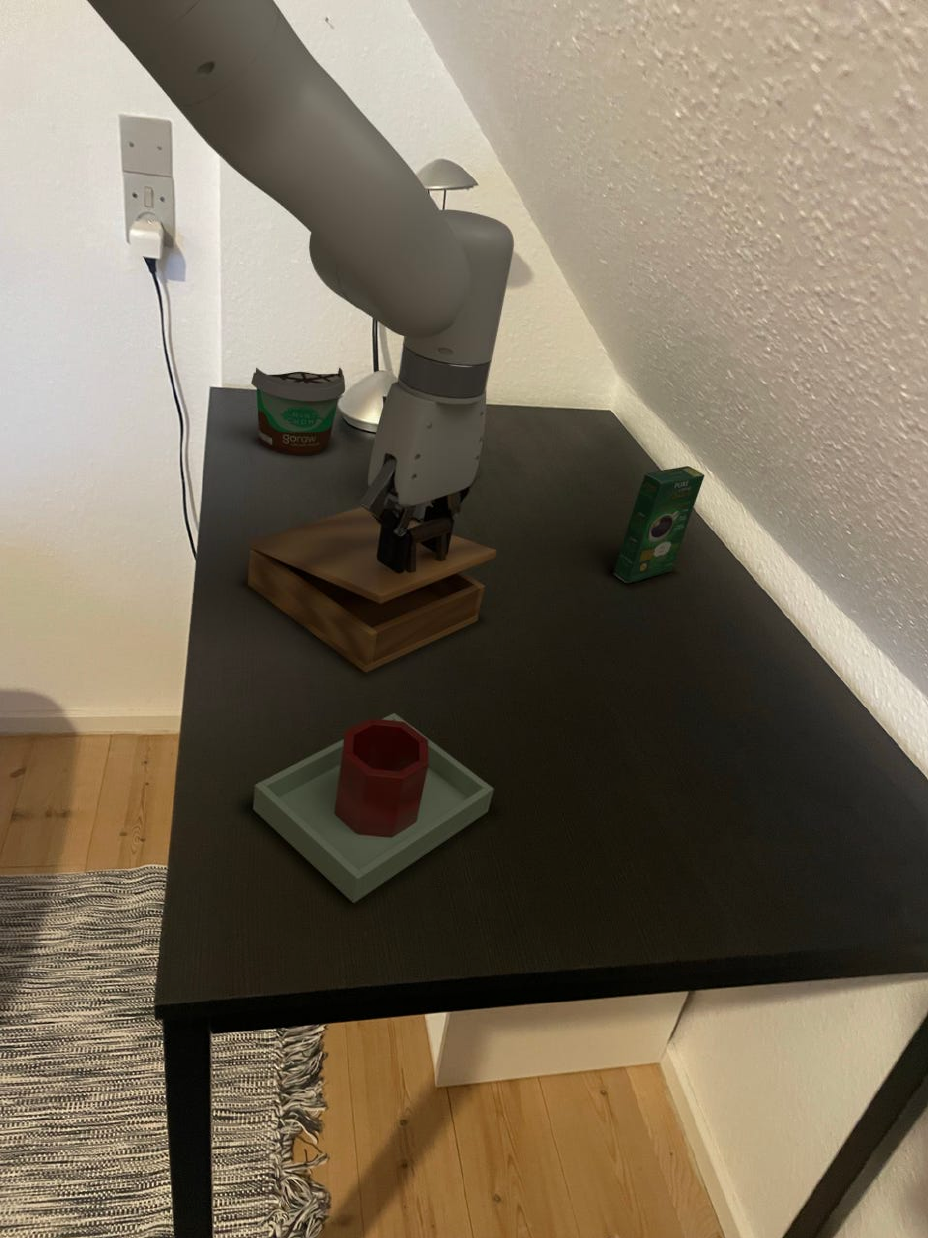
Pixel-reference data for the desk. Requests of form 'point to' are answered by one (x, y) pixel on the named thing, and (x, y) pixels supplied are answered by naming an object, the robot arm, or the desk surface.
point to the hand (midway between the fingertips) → (412, 556)
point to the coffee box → (658, 523)
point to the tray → (365, 862)
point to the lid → (371, 553)
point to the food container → (297, 410)
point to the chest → (367, 611)
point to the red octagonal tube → (381, 777)
